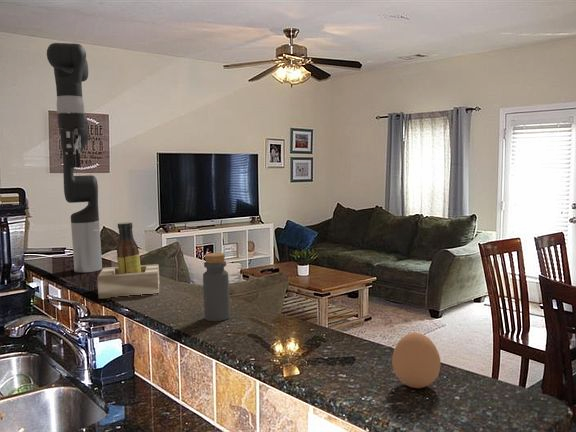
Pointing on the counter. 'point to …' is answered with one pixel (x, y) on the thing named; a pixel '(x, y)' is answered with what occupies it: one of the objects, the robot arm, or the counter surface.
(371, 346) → the counter surface
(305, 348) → the counter surface
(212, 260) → the bottle
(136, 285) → the dock block
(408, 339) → the egg
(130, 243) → the sauce bottle
